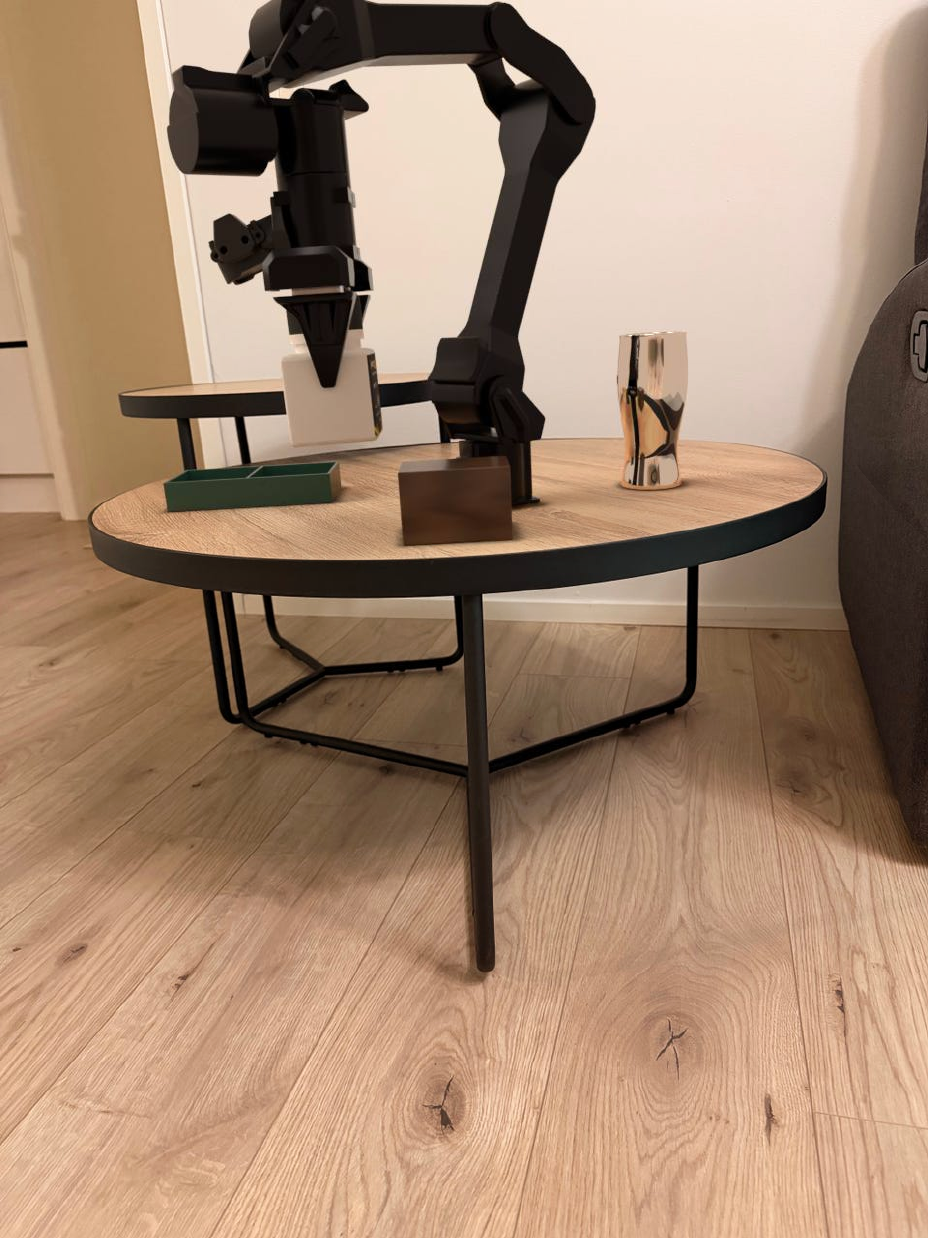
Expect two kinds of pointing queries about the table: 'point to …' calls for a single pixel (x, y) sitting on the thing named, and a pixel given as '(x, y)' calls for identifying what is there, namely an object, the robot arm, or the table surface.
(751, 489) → the table surface
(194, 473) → the divided tray
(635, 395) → the beer glass
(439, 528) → the walnut stand
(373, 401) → the medicine bottle
